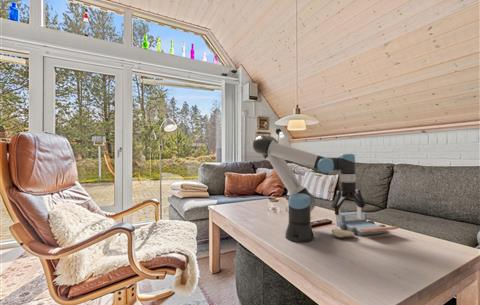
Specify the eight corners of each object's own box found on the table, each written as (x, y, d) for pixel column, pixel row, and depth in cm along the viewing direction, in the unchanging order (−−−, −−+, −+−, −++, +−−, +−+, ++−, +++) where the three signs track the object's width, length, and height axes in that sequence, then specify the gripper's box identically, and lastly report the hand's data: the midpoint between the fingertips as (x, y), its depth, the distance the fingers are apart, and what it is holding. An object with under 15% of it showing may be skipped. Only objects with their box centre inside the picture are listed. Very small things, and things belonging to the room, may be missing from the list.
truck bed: (357, 237, 126) (357, 222, 126) (334, 226, 146) (334, 213, 146) (389, 234, 131) (389, 219, 131) (363, 223, 151) (363, 211, 151)
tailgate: (360, 231, 127) (371, 231, 119) (360, 229, 127) (371, 229, 120) (386, 229, 130) (398, 229, 123) (385, 226, 131) (397, 226, 123)
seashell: (352, 232, 131) (351, 227, 131) (357, 240, 119) (356, 235, 119) (330, 232, 134) (329, 227, 134) (333, 240, 122) (332, 235, 122)
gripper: (332, 183, 122) (333, 223, 122) (372, 181, 128) (373, 219, 127) (324, 181, 129) (325, 219, 129) (362, 179, 135) (363, 216, 135)
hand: (348, 219), depth 128 cm, fingers open, 13 cm apart
